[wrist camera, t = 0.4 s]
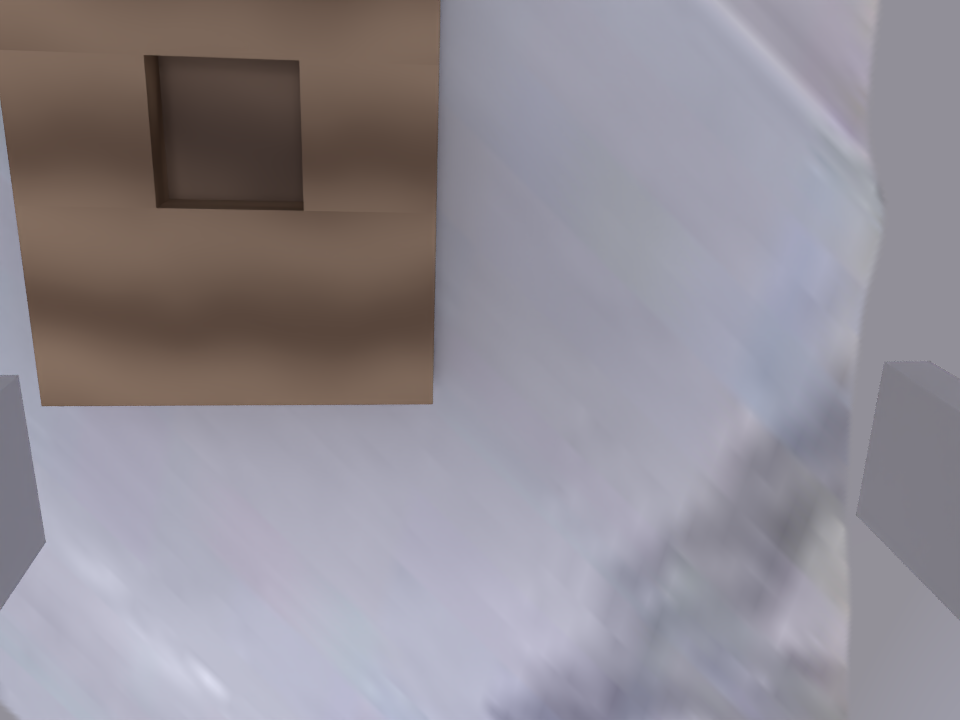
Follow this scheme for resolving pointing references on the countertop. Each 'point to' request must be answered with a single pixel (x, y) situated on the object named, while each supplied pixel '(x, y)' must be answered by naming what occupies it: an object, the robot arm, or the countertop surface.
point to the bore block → (225, 198)
